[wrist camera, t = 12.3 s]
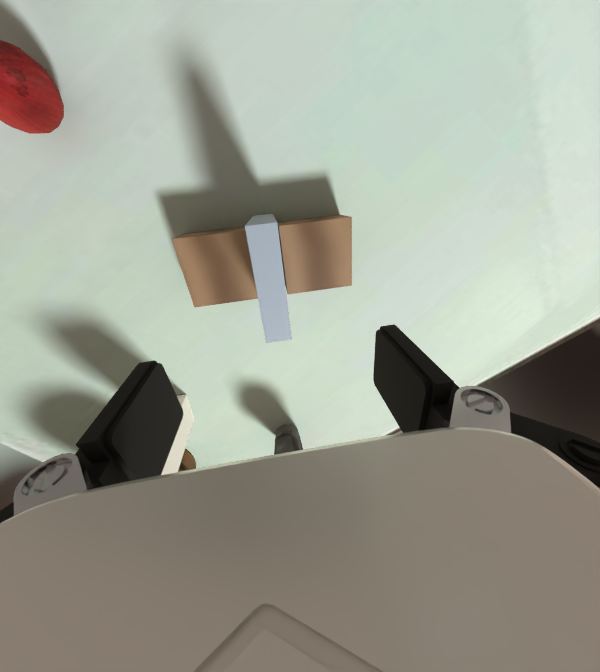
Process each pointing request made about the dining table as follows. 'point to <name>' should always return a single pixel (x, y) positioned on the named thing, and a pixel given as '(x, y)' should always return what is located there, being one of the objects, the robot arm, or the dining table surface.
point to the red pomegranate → (27, 93)
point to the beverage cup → (287, 440)
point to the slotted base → (296, 250)
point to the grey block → (269, 276)
